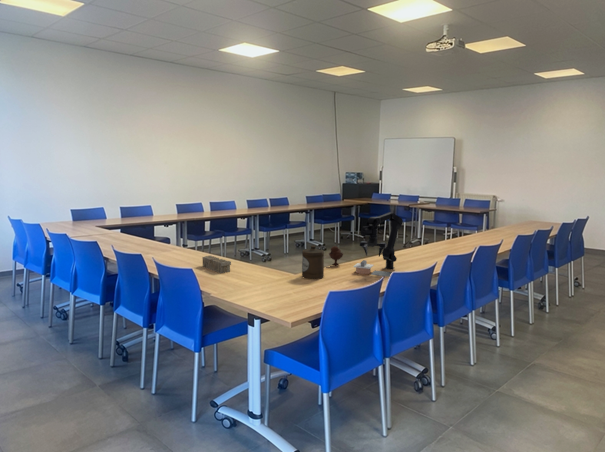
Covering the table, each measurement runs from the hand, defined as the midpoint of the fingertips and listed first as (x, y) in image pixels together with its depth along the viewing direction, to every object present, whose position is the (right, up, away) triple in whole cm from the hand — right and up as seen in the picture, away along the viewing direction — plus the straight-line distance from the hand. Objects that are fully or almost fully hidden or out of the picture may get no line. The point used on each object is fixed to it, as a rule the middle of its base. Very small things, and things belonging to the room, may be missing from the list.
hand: (372, 256), depth 311 cm
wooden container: (-44, -13, -16) cm, 49 cm away
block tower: (-114, -10, +2) cm, 115 cm away
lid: (-7, -7, -4) cm, 11 cm away
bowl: (-8, -12, -3) cm, 14 cm away
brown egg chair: (-25, -9, +21) cm, 34 cm away
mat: (+6, -12, -5) cm, 15 cm away
